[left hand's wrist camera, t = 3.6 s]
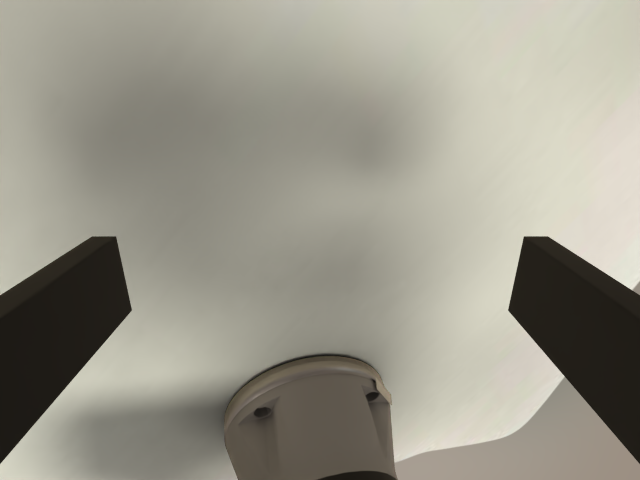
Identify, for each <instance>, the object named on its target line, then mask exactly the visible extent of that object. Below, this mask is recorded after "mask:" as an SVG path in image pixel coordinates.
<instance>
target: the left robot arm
mask: <svg viewBox="0 0 640 480" xmlns="http://www.w3.org/2000/svg"><path fill="white" fill-rule="evenodd" d="M131 311H132V309H131V304H130V300H129V295H128V290H127V286H126V281H125V276H124V272H123V267H122V262H121V258H120V253H119V248H118V244H117V239H116V237H91V238H89V239H88V240H86V241H84V242H83V243H81V244H80V245H78V246H77V247H75V248H74V249H72V250H70V251H69V252H67V253H66V254H64V255H63V256H61V257H59V258H58V259H56V260H55V261H53V262H52V263H50V264H49V265H47V266H45V267H44V268H42V269H41V270H39V271H38V272H36V273H34V274H33V275H31V276H30V277H28V278H27V279H25V280H24V281H22V282H20V283H19V284H17V285H16V286H14V287H13V288H11V289H9V290H8V291H6V292H5V293H3V294H2V295H0V463H1V462H2V461H3V460H4V459H5V458H6V456H7V455H8V454H9V453H10V452H11V451H12V449H13V448H14V447H15V446H16V445H17V444H18V442H19V441H20V440H21V439H22V438H23V437H24V435H25V434H26V433H27V432H28V431H29V430H30V428H31V427H32V426H33V425H34V424H35V423H36V421H37V420H38V419H39V418H40V417H41V416H42V414H43V413H44V412H45V411H46V410H47V409H48V407H49V406H50V405H51V404H52V403H53V402H54V400H55V399H56V398H57V397H58V396H59V395H60V393H61V392H62V391H63V390H64V389H65V388H66V386H67V385H68V384H69V383H70V382H71V381H72V379H73V378H74V377H75V376H76V375H77V374H78V372H79V371H80V370H81V369H82V368H83V367H84V365H85V364H86V363H87V362H88V361H89V360H90V358H91V357H92V356H93V355H94V354H95V353H96V351H97V350H98V349H99V348H100V347H101V346H102V344H103V343H104V342H105V341H106V340H107V339H108V337H109V336H110V335H111V334H112V333H113V332H114V330H115V329H116V328H117V327H118V326H119V325H120V323H121V322H122V321H123V320H124V319H125V318H126V316H127V315H128V314H129V313H130V312H131ZM508 311H509V312H510V313H511V314H512V315H513V316H514V318H515V319H516V320H517V321H518V322H519V323H520V325H521V326H522V327H523V328H524V329H525V330H526V332H527V333H528V334H529V335H530V336H531V337H532V339H533V340H534V341H535V342H536V343H537V344H538V346H539V347H540V348H541V349H542V350H543V351H544V353H545V354H546V355H547V356H548V357H549V358H550V360H551V361H552V362H553V363H554V364H555V365H556V367H557V368H558V369H559V370H560V371H561V372H562V374H563V375H564V376H565V377H566V378H567V379H568V381H569V382H570V383H571V384H572V385H573V386H574V388H575V389H576V390H577V391H578V392H579V393H580V395H581V396H582V397H583V398H584V399H585V400H586V402H587V403H588V404H589V405H590V406H591V407H592V409H593V410H594V411H595V412H596V413H597V414H598V416H599V417H600V418H601V419H602V420H603V421H604V423H605V424H606V425H607V426H608V427H609V428H610V430H611V431H612V432H613V433H614V434H615V435H616V437H617V438H618V439H619V440H620V441H621V442H622V444H623V445H624V446H625V447H626V448H627V449H628V451H629V452H630V453H631V454H632V455H633V456H634V458H635V459H636V460H637V461H638V462H639V463H640V295H638V294H637V293H635V292H634V291H632V290H631V289H629V288H627V287H626V286H624V285H623V284H621V283H620V282H618V281H616V280H615V279H613V278H612V277H610V276H609V275H607V274H606V273H604V272H602V271H601V270H599V269H598V268H596V267H595V266H593V265H591V264H590V263H588V262H587V261H585V260H584V259H582V258H581V257H579V256H577V255H576V254H574V253H573V252H571V251H570V250H568V249H566V248H565V247H563V246H562V245H560V244H559V243H557V242H556V241H554V240H552V239H551V238H549V237H524V239H523V244H522V248H521V253H520V258H519V262H518V267H517V272H516V276H515V281H514V286H513V290H512V295H511V300H510V304H509V309H508ZM390 404H391V405H392V402H391V394H390V393H389V392H388V391H387V390H386V388H385V387H384V384H383V382H382V380H381V377H380V376H379V374H378V373H377V372H376V370H375V369H373V368H372V367H371V366H369V365H368V364H366V363H364V362H362V361H359V360H356V359H352V358H348V357H341V356H319V357H311V358H305V359H300V360H296V361H292V362H289V363H286V364H283V365H280V366H278V367H275V368H273V369H271V370H269V371H267V372H265V373H263V374H261V375H259V376H258V377H256V378H255V379H253V380H252V381H250V382H249V383H248V384H246V385H245V386H244V387H243V388H242V389H241V390H240V391H239V392H238V393H237V394H236V395H235V396H234V397H233V399H232V400H231V402H230V403H229V405H228V407H227V410H226V412H225V417H224V434H225V446H226V449H227V451H228V454H229V457H230V459H231V462H232V465H233V467H234V470H235V473H236V475H237V478H238V480H398V479H397V476H396V473H395V467H394V454H393V440H392V427H391V413H390Z"/></svg>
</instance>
